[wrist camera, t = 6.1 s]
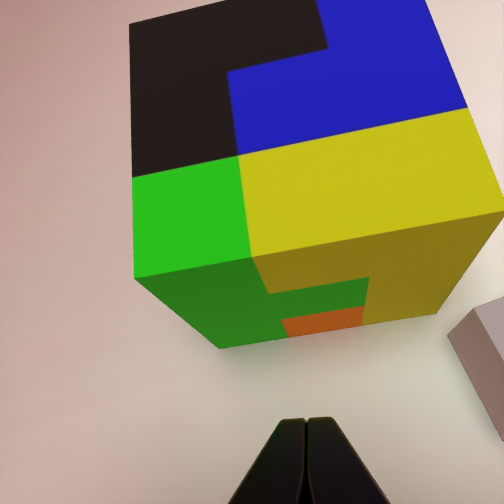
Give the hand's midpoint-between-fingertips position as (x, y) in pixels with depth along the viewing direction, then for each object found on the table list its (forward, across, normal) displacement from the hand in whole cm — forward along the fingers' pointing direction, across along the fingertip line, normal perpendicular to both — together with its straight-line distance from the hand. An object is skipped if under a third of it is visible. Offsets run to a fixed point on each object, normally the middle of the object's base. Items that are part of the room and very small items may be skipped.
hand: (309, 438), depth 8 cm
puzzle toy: (+16, 0, +2) cm, 17 cm away
